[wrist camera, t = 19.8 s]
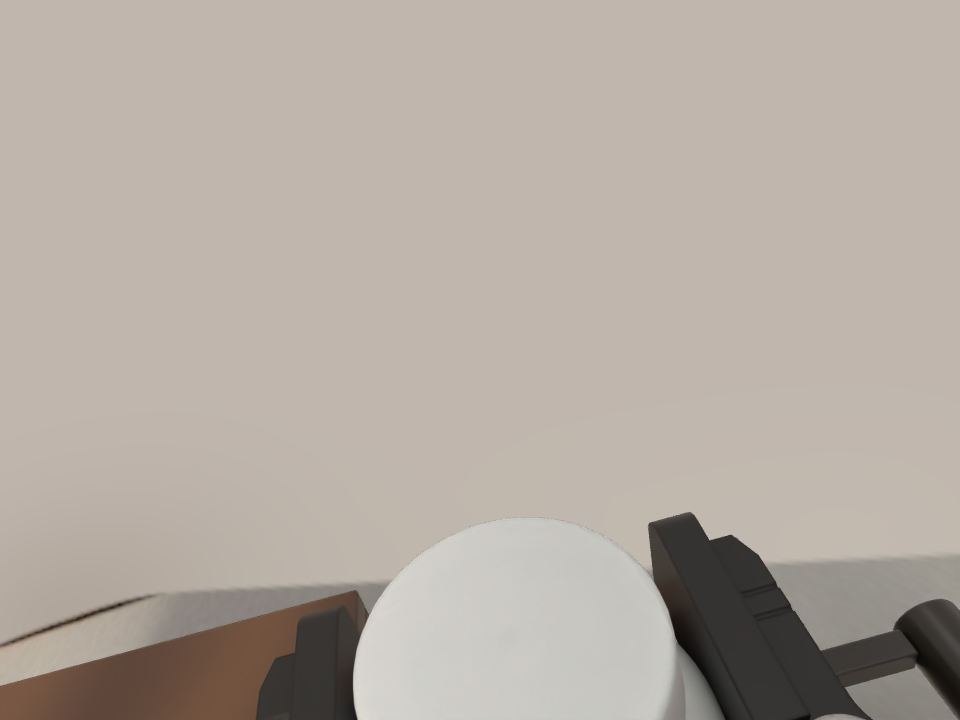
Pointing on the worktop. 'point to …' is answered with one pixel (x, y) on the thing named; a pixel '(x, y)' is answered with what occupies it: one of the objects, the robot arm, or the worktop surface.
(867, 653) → the drawer
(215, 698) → the cabinet
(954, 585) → the worktop surface
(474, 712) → the pill bottle
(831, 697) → the robot arm
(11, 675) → the worktop surface
